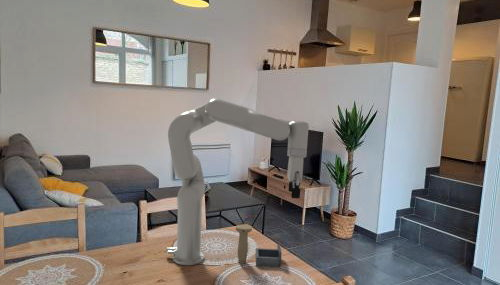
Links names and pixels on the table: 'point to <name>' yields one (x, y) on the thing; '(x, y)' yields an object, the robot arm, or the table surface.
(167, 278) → the table surface
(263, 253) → the box
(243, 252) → the handle
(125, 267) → the table surface
